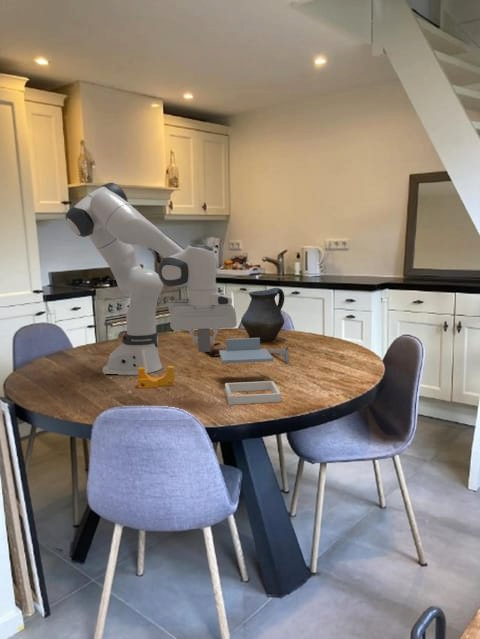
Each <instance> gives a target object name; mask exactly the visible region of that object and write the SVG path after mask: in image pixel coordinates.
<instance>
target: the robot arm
mask: <svg viewBox="0 0 480 639" xmlns="http://www.w3.org/2000/svg"><path fill="white" fill-rule="evenodd" d="M128 200H129V199H128V197H127V194H126V193H125V191H124V190H123V189H122V187H120V185H119V184H117V183H115V182H108V183H105V184H103V185H101V186H100V187H99V188H97V189H95V190H92V191H91V192H90V193H88V194H87V195H86V196H85V197H84V198H82V199H81V200H80V201H78V202H77V203H76V204H75V205H74V206H71V208H69V210H67V212H66V213H65V221H66V223H67V225H68V227H69V229H70V230H71V231H72V232H73V233H74V234H75V235H77V236H78V237H82V238H86V237H89V239H90V240H91V242H92V244H93V245H94V247H95V248H96V249H97V252H99V254H100V255H101V257H102V258H103V259H104V261H105V263H106V264H107V266H108V267H109V268H110V271H111V273H112V274H113V278H114V279H115V281H116V284H117V287H118V289H119V290H120V291H121V292H122V293H123V294H125V295H127V296H130V298H129V305H128V309H127V311H126V314H125V319H126V321H125V322H126V332H123V333H122V334H121V343H122V344H120V345H119V346H118V347H116V348H115V349H114V350H113V351H112V352H111V353H110V355H109V356H108V361H107V364H105V365H104V366H103V367H102V371H101V372H103V373H104V374H103V373H102V374H103V375H105V374H118V375H117V376H138V368H139V367H144V369H145V371H146V373H147V374H150V373H153V372H157V371H159V370H161V369H162V368H163V365H162V363H161V359H160V356H159V350H158V349H159V348H158V346H159V335H158V332H157V317H156V312H157V304H158V300H159V297H160V294H161V293H162V291H163V289H164V285H165V286H166V287H169V288H179V287H180V288H181V287H185V286H187V298H181V299H179V298H176V299H172V300H171V301H169V303H168V306H167V307H168V313H169V314H170V319H169V320H170V321H169V322H170V323H169V326H170V329H171V330H173V331H185V330H186V331H188V330H189V334H190V336H191V337H192V339H193V342H192V343H193V344H194V345H198V336H195V334H194V333H195V330H198V329H210V330H212V332H213V333H212V335H211V336H210V343H214V341H215V338H216V336H217V334H218V333H219V331H218V330H219V329H234V328H236V327H237V322H238V321H237V315H236V309H235V307H234V306H233V304H232V302H233V298H232V296H230V295H228V294H225V293H221V292H218V286H217V280H216V279H217V274H218V272H217V270H218V269H217V259H216V258H217V257H216V253H215V250H214V249H213V248H212V246H209V245H207V244H199V243H192V244H189V245H188V246H187V247H186V248H184V247H183V246H182V245H180V244H179V243H178V242H176V241H175V240H174V239H173V238H171V237H170V235H167V234H166V233H165V232H164V231H162V230H161V229H160V228H158V227H157V226H156V225H154V224H153V223H152V222H151V221H150V220H149V219H147V218H146V217H145V216H144V215H142V214H141V213H140V212H139V211H138V210H137V209H136V208H134V206H133V205H131V204H130V203H129V202H128ZM133 245H134V246H140V247H145V248H149V249H151V250H153V251H155V252H157V253H158V254H159V255H160V256H162V257H163V259H162V260H161V261H160V263H159V265H158V268H157V272H156V271H154V270H153V269H149V268H143V267H142V266H141V265H140V263H139V261H138V258H137V256H136V253H135V252H136V251H135V247H133Z"/></svg>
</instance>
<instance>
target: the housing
mask: <svg viewBox="0 0 480 639" xmlns="http://www.w3.org/2000/svg"><path fill="white" fill-rule="evenodd" d="M253 391H254V392H255V391H271V392H272V393H256V394H254V393H252V394H251V393H250V394H234V395H232V393H234V392H236V393H237V392H253ZM224 392H225V395H226V396H225V397H226V400H227V404H228V406H234V405H235V404H236V405H247V404H248V405H249V404H250V405H251V404H252V403H253V404H269V402H271V403H282V393H281V391H280V390H279V387H277V385H276V383H275V381H274V380H266V381H265V380H263V381H247V382H246V381H243V382H225V383H224Z"/></svg>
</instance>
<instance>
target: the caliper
mask: <svg viewBox="0 0 480 639" xmlns="http://www.w3.org/2000/svg"><path fill="white" fill-rule="evenodd" d="M268 351H269V353H270V354H278V355H280V357H283V362H284V363H286V364H288V363H289V362H290V352H289V347H288V346H284V348H281V349H274V348H271V349H269V350H268Z"/></svg>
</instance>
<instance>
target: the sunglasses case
mask: <svg viewBox="0 0 480 639" xmlns="http://www.w3.org/2000/svg"><path fill="white" fill-rule="evenodd" d="M219 350H226V345H223V344H222V343H221V342H220V341H217V340H214V343H210V352H208V353H210V354H211V355H212V356H214V357H218V356H220V354H219Z"/></svg>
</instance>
